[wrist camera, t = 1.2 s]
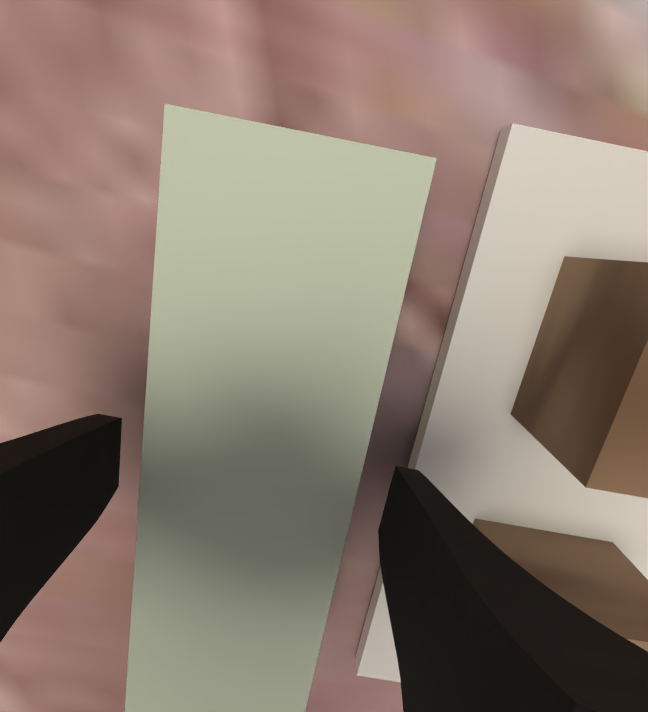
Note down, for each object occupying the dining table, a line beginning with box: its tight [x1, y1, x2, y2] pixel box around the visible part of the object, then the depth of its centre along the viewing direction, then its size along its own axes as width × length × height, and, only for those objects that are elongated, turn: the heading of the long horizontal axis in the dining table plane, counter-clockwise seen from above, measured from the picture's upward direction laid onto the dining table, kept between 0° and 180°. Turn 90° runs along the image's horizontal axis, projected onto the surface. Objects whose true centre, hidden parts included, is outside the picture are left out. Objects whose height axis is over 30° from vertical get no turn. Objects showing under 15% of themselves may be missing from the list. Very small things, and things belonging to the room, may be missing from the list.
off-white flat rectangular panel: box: [356, 123, 648, 682], centre depth 14 cm, size 20×10×1 cm, turn 169°
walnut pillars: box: [473, 256, 648, 651], centre depth 12 cm, size 14×5×4 cm, turn 169°
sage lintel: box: [125, 104, 437, 712], centre depth 12 cm, size 16×5×5 cm, turn 170°
